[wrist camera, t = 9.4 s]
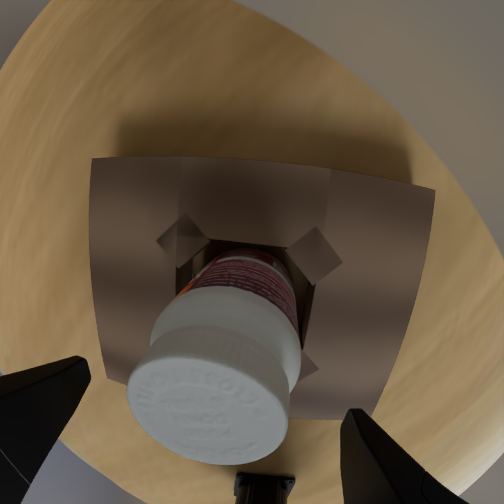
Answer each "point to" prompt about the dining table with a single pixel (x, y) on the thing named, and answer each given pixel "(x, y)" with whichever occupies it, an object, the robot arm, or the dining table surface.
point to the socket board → (266, 233)
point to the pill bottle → (222, 362)
